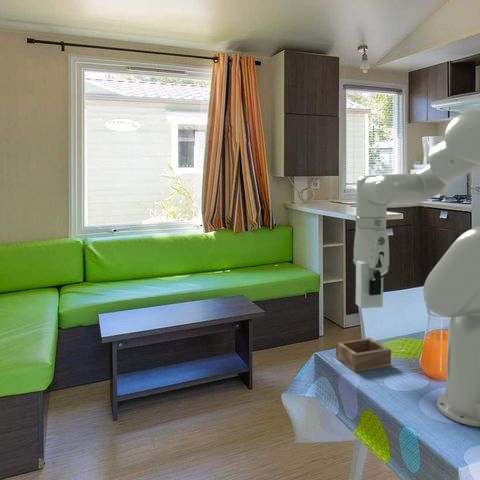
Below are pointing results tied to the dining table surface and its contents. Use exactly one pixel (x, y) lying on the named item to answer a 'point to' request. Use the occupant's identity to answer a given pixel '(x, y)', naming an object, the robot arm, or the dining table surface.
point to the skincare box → (366, 288)
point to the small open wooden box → (363, 354)
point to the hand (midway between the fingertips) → (368, 291)
